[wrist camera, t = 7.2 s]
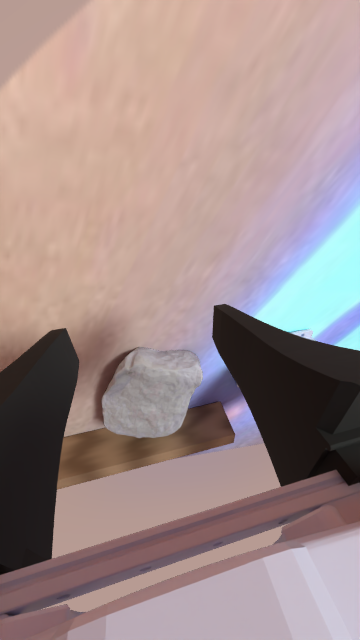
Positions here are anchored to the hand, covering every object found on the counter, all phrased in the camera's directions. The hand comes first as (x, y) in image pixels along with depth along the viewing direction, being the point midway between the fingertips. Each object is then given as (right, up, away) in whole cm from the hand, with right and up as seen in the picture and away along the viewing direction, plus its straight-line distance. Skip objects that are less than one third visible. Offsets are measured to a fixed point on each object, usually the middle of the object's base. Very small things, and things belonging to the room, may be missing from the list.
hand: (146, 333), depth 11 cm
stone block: (-3, -7, +16) cm, 17 cm away
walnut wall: (-4, -14, +19) cm, 24 cm away
